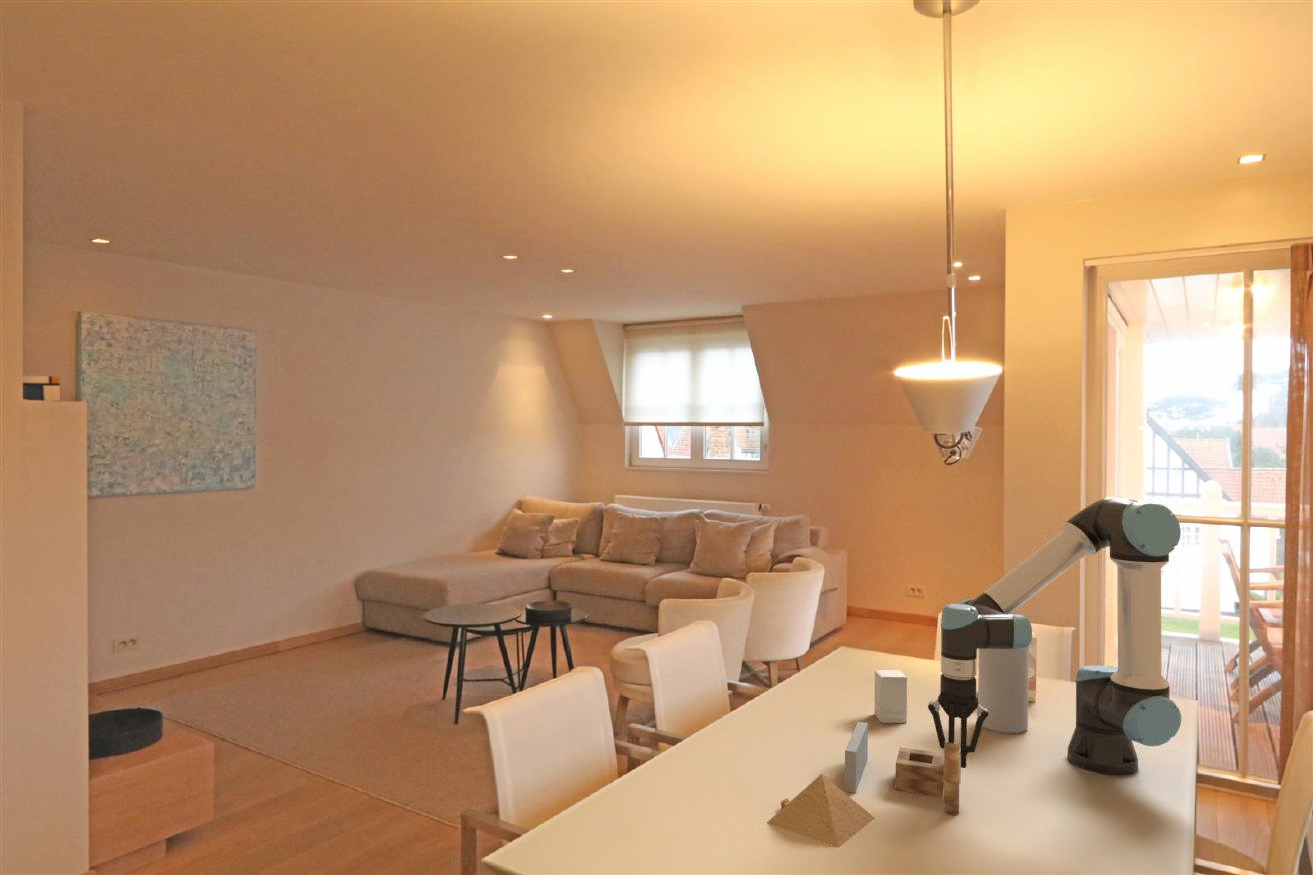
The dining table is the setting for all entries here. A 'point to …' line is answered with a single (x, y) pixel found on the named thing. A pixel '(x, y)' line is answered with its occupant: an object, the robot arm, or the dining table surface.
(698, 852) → the dining table surface
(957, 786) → the dowel
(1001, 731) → the cylinder vase
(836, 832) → the model pyramid
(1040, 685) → the dining table surface
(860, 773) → the panel
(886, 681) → the supplement box
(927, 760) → the block
